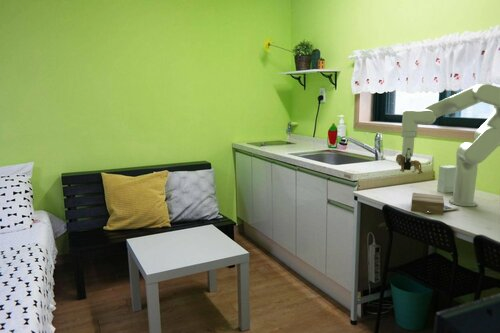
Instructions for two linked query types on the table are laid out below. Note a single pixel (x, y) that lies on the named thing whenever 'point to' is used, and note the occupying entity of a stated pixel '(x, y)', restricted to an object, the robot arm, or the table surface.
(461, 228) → the table surface
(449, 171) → the skincare box
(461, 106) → the robot arm
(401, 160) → the lion figurine
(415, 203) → the walnut box
